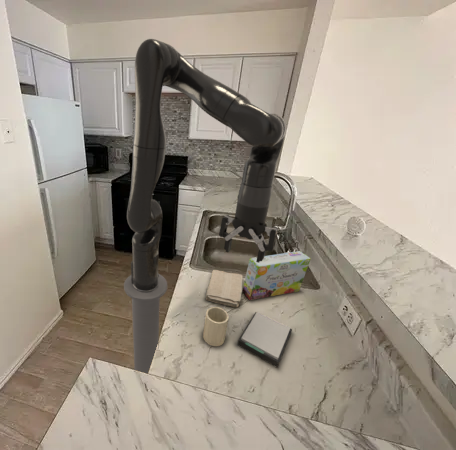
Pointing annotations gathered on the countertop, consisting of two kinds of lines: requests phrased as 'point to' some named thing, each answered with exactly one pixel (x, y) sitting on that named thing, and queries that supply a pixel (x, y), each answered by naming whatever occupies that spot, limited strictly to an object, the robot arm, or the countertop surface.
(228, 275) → the washcloth
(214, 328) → the ceramic cup
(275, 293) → the snack box
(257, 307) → the countertop surface
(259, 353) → the kitchen scale
